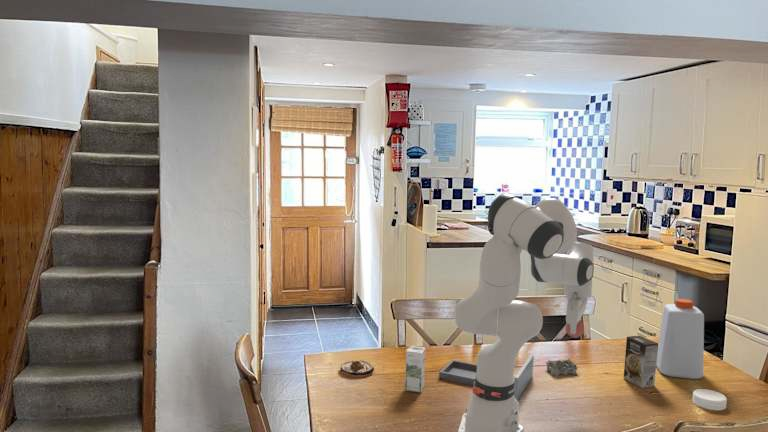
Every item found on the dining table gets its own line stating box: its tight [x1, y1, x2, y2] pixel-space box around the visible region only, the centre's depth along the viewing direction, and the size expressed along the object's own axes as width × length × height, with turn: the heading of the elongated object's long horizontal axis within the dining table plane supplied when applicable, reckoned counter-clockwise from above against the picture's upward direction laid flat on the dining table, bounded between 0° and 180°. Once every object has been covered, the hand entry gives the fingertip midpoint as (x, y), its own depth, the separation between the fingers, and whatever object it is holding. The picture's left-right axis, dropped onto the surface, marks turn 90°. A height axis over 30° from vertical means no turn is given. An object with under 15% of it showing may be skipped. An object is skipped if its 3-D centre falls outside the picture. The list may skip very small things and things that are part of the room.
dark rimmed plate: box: [340, 359, 375, 378], centre depth 213 cm, size 15×15×4 cm
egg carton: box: [545, 358, 580, 376], centre depth 218 cm, size 11×8×4 cm
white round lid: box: [692, 388, 728, 411], centre depth 192 cm, size 10×10×4 cm
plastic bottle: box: [656, 298, 705, 380], centre depth 219 cm, size 15×15×28 cm
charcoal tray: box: [438, 359, 477, 387], centre depth 212 cm, size 14×14×2 cm
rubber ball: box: [565, 320, 585, 338], centre depth 192 cm, size 6×6×6 cm
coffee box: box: [623, 335, 658, 389], centre depth 208 cm, size 9×6×16 cm
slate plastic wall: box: [514, 354, 534, 401], centre depth 202 cm, size 24×1×8 cm, turn 153°
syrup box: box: [404, 345, 426, 394], centre depth 198 cm, size 6×6×14 cm
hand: (574, 330), depth 192 cm, fingers closed on rubber ball, 6 cm apart
